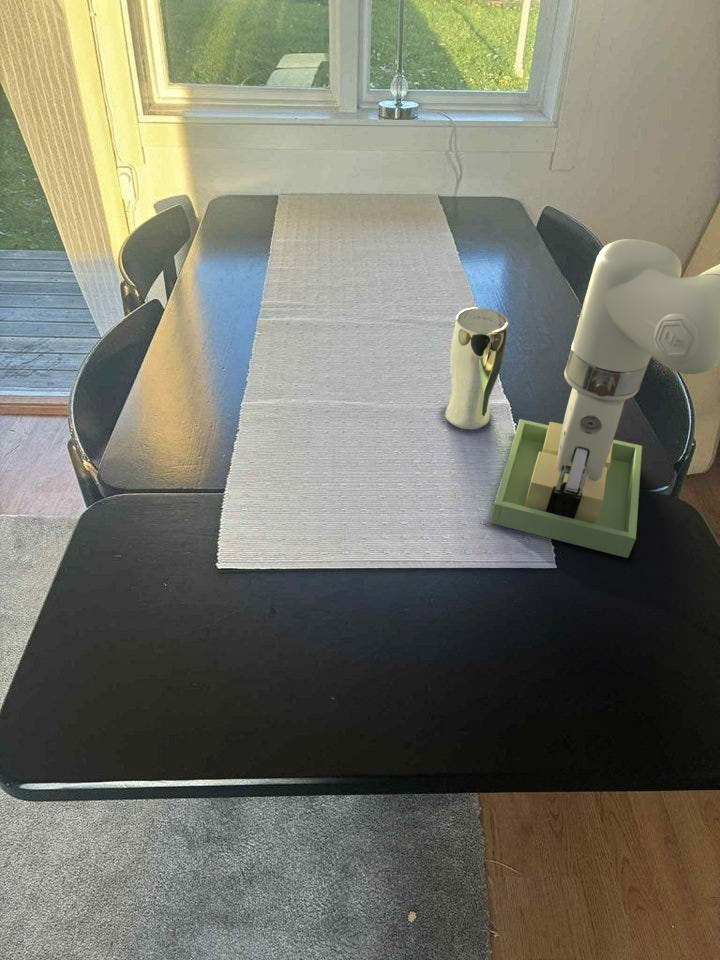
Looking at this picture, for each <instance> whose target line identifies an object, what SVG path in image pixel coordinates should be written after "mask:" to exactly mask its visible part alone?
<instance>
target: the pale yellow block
mask: <svg viewBox="0 0 720 960" xmlns="http://www.w3.org/2000/svg"><path fill="white" fill-rule="evenodd" d="M548 425H549V427H548V431H547V435H546V438H545V442H544V446H543V450H542V452H544V453H548V454H552V455H556V456H558V450H559V444H560V437H561V432H562V427H563V423H558V422H553V421H549V423H548ZM612 447H613V442H612V445H611V448H610V451H609V454H608V457H607V460H606V463H605V466H604V467H606V468H607V473H608V470H609V467H610V464H611V456H612Z"/></svg>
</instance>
